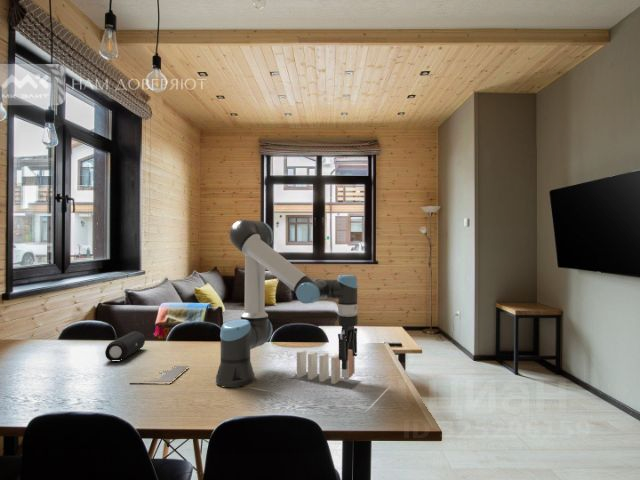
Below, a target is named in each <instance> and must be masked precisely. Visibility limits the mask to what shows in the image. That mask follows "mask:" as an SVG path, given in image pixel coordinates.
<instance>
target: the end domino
mask: <svg viewBox="0 0 640 480" xmlns="http://www.w3.org/2000/svg"><path fill="white" fill-rule="evenodd" d="M348 360H349V378H344V377H343V378H344V379H351V377H353V375H354V374H353V350H352V349H349V351H348Z"/></svg>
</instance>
